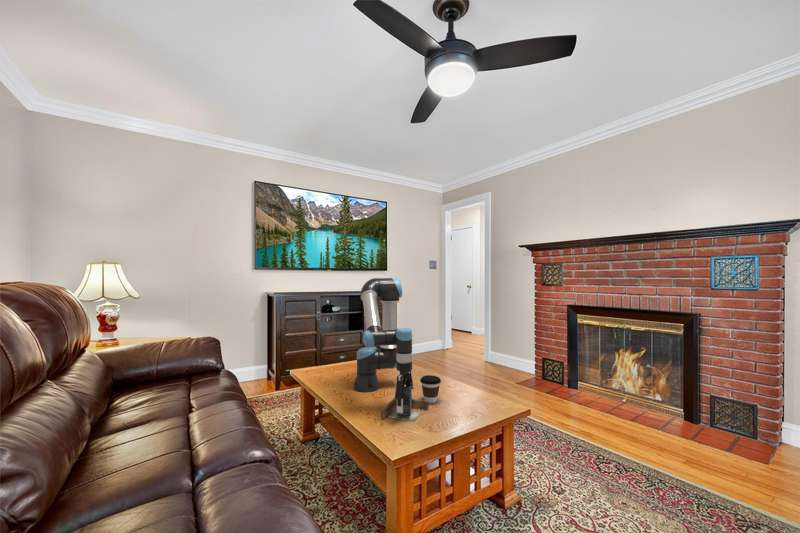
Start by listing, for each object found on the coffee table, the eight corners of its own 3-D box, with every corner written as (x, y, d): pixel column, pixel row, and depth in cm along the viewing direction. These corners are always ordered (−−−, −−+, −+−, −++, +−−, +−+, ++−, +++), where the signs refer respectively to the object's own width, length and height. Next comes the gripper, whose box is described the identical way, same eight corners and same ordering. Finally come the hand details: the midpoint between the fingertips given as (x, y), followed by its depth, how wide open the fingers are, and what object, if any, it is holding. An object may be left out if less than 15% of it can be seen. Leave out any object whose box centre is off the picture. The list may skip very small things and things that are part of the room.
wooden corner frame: (381, 419, 152) (381, 410, 152) (395, 404, 170) (395, 396, 170) (417, 425, 146) (417, 415, 146) (428, 409, 164) (428, 400, 164)
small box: (398, 407, 162) (398, 385, 162) (412, 407, 161) (412, 386, 162) (396, 416, 151) (396, 392, 152) (410, 416, 151) (410, 393, 151)
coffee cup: (416, 399, 177) (416, 376, 177) (434, 396, 181) (434, 374, 181) (426, 406, 167) (426, 382, 167) (445, 403, 171) (444, 379, 171)
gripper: (403, 368, 145) (403, 419, 144) (419, 356, 167) (419, 399, 166) (387, 367, 147) (387, 416, 147) (405, 355, 169) (405, 397, 169)
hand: (404, 407), depth 156 cm, fingers open, 11 cm apart
